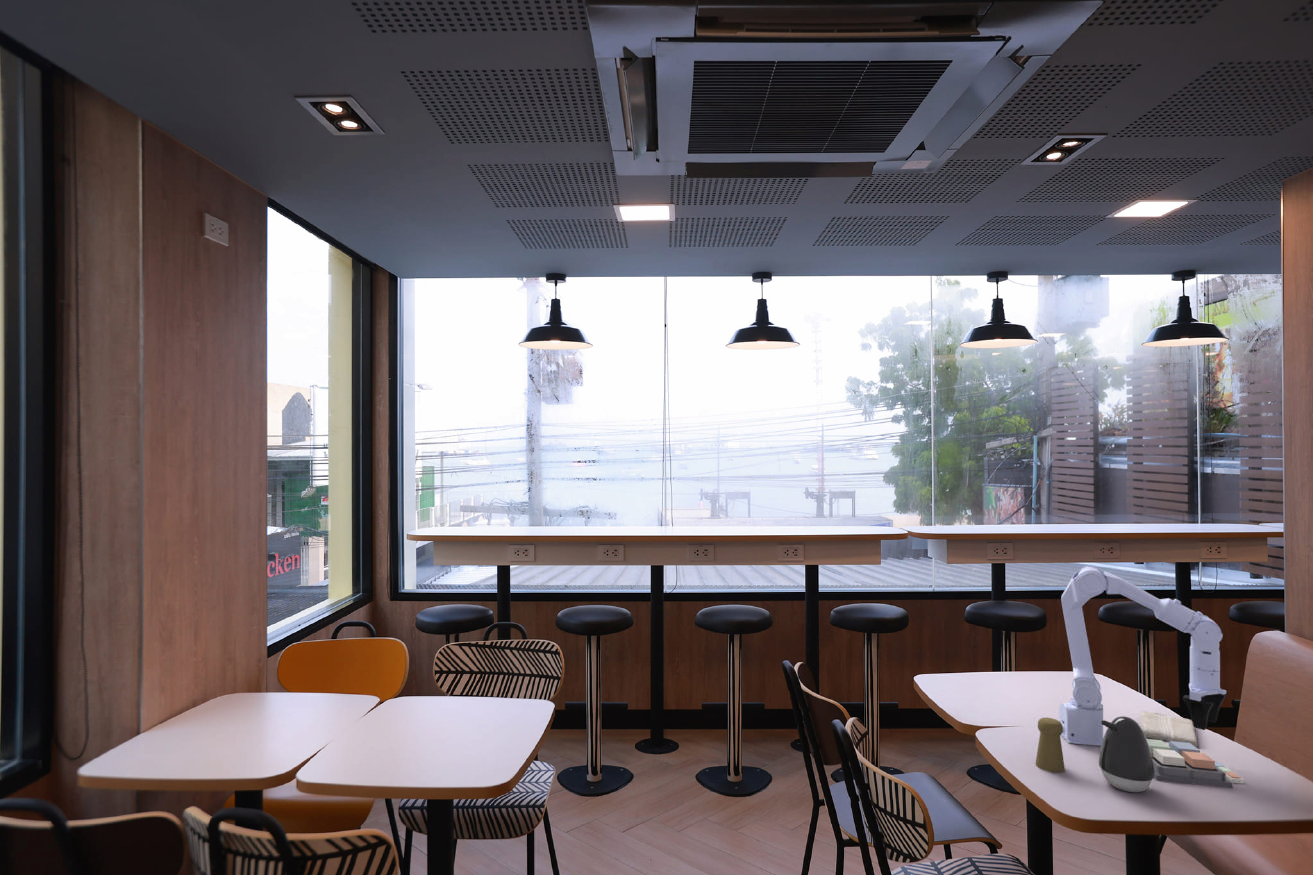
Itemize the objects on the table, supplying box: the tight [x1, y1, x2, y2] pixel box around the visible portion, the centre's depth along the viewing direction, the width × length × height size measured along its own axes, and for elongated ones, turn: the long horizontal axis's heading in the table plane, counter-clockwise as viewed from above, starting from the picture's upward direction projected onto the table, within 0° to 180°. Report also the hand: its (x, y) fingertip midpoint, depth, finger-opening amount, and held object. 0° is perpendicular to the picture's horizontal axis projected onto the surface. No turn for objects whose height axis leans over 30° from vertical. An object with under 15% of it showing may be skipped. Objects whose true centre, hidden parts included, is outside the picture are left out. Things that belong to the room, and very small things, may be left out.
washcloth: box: [1140, 710, 1198, 748], centre depth 187 cm, size 12×18×3 cm, turn 147°
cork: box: [1035, 717, 1066, 774], centre depth 164 cm, size 6×6×11 cm
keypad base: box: [1151, 754, 1234, 789], centre depth 164 cm, size 15×15×3 cm
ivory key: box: [1153, 749, 1185, 766], centre depth 162 cm, size 4×4×2 cm
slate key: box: [1168, 741, 1201, 756], centre depth 166 cm, size 4×4×2 cm
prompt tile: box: [1215, 761, 1244, 784], centre depth 162 cm, size 2×9×1 cm, turn 168°
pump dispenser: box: [1098, 715, 1155, 793], centre depth 154 cm, size 10×10×15 cm
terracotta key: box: [1182, 751, 1216, 769], centre depth 160 cm, size 4×4×2 cm
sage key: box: [1146, 738, 1171, 754], centre depth 167 cm, size 4×4×2 cm
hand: (1204, 725), depth 168 cm, fingers open, 7 cm apart
